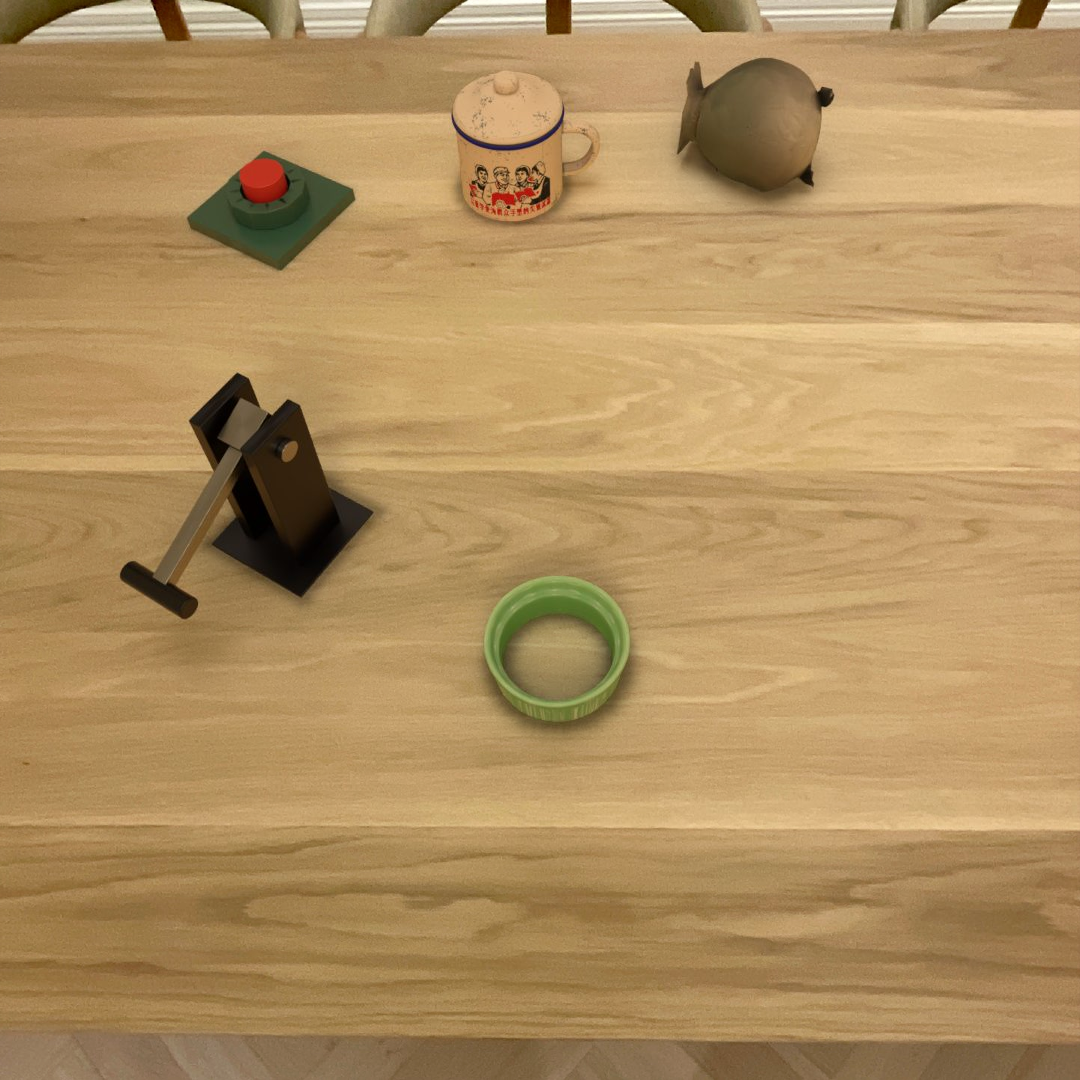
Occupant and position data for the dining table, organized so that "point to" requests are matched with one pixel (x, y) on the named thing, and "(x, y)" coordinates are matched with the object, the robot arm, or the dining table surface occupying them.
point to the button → (263, 181)
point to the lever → (198, 518)
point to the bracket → (278, 494)
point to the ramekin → (556, 599)
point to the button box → (273, 214)
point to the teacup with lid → (515, 145)
